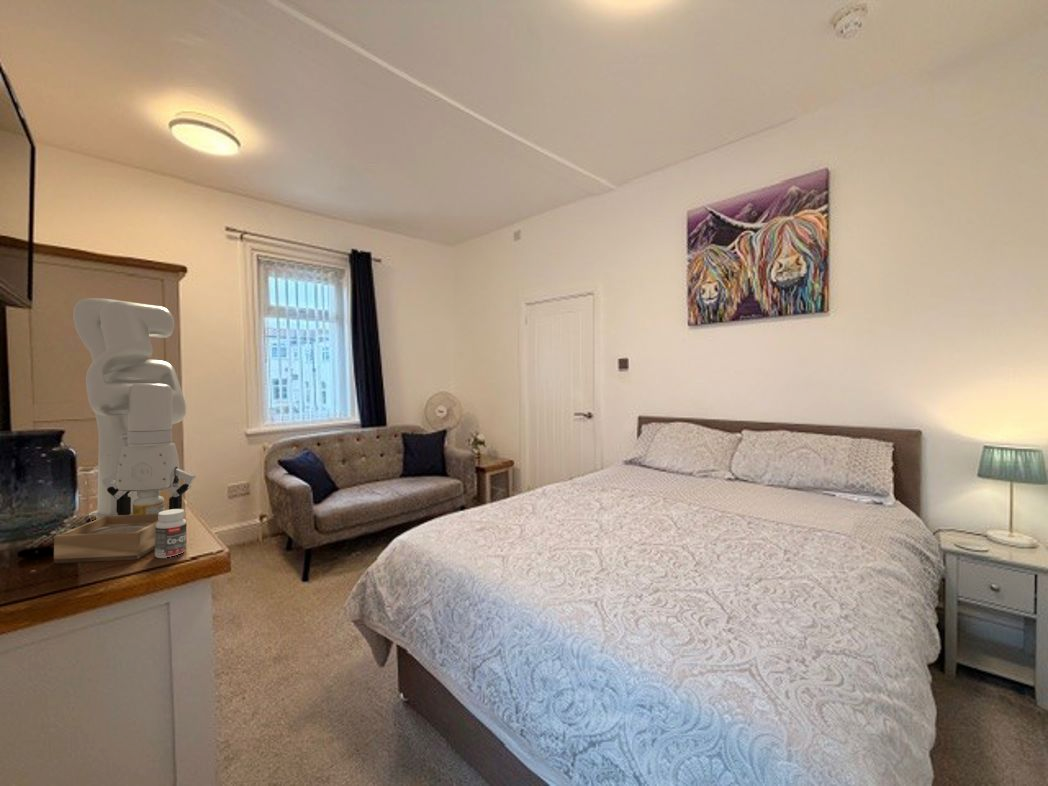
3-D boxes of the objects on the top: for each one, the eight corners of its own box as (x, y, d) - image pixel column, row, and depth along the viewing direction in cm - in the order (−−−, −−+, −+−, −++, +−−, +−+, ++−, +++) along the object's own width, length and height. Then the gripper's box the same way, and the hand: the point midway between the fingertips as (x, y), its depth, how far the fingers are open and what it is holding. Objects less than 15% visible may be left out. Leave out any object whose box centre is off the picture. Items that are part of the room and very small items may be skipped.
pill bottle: (168, 560, 82) (169, 516, 82) (148, 557, 83) (149, 514, 83) (192, 551, 87) (192, 509, 87) (172, 548, 88) (173, 507, 88)
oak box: (104, 539, 92) (105, 515, 92) (175, 536, 95) (176, 513, 95) (53, 563, 79) (54, 536, 79) (137, 559, 82) (137, 533, 82)
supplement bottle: (167, 530, 98) (168, 488, 98) (136, 537, 94) (137, 492, 94) (158, 526, 101) (159, 485, 101) (128, 531, 97) (129, 489, 97)
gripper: (91, 440, 92) (90, 522, 92) (185, 439, 96) (185, 517, 95) (116, 437, 99) (115, 512, 99) (202, 436, 103) (202, 508, 103)
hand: (149, 514), depth 97 cm, fingers open, 9 cm apart
